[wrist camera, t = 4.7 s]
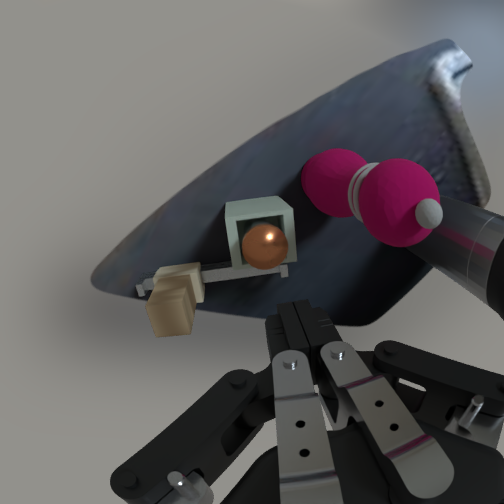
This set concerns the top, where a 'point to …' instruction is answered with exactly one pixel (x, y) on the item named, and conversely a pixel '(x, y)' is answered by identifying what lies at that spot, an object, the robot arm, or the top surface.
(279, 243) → the plunger
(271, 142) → the top surface
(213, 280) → the rail
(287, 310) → the robot arm
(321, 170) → the pepper mill
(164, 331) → the carriage
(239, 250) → the cabinet
